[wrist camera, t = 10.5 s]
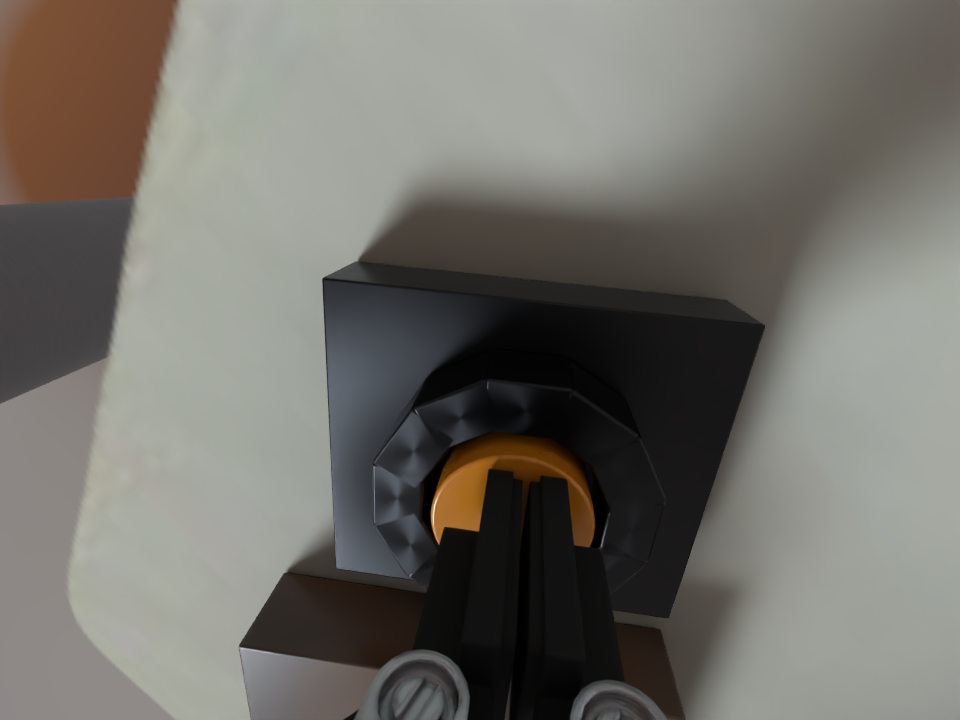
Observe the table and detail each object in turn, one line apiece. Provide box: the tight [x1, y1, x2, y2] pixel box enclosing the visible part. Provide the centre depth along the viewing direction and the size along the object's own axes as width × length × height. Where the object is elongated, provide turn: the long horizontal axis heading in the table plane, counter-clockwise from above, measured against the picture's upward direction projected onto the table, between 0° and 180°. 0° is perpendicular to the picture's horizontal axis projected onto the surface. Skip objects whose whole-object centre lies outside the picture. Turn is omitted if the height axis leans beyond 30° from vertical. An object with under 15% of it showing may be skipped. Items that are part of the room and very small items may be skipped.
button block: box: [322, 262, 765, 618], centre depth 12 cm, size 10×9×4 cm
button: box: [431, 432, 595, 547], centre depth 11 cm, size 4×4×2 cm
